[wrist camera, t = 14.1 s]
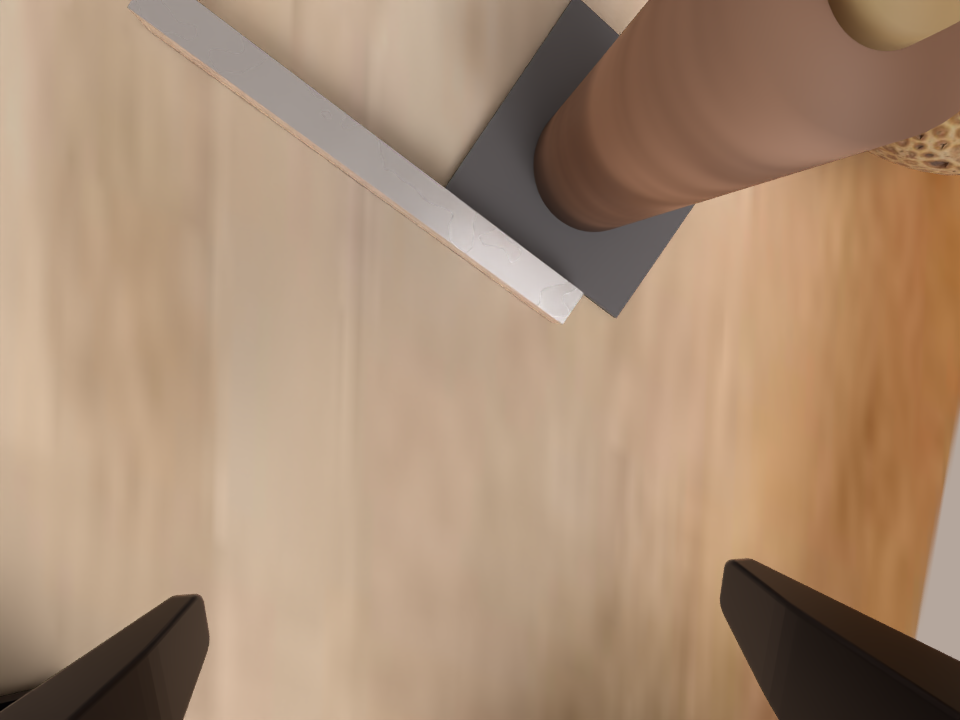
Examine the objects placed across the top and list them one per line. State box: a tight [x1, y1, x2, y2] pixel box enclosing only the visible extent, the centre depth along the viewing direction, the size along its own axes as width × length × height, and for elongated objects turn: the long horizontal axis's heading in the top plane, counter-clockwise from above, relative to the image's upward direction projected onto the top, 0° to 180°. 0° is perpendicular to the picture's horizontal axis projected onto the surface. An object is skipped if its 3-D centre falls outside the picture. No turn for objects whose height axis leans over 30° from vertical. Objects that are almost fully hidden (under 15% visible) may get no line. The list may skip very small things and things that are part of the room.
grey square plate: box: [445, 0, 695, 318], centre depth 20 cm, size 9×9×1 cm
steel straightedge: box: [128, 0, 584, 324], centre depth 18 cm, size 18×2×2 cm, turn 55°
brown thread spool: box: [533, 0, 960, 232], centre depth 13 cm, size 5×5×13 cm
